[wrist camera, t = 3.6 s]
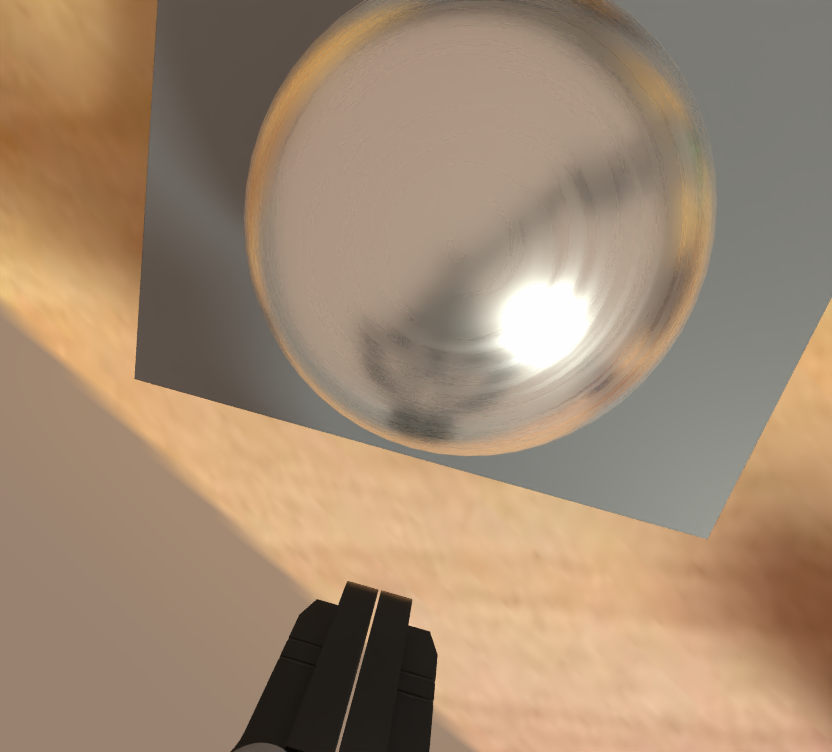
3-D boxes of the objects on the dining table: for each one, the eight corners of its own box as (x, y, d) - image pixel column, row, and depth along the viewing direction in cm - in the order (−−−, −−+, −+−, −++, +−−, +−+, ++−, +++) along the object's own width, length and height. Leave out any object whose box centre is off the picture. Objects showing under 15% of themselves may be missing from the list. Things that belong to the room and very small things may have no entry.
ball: (357, 41, 9) (138, -334, 3) (673, 116, 8) (1085, -141, 3) (305, 343, 11) (104, 465, 5) (565, 413, 10) (677, 631, 5)
